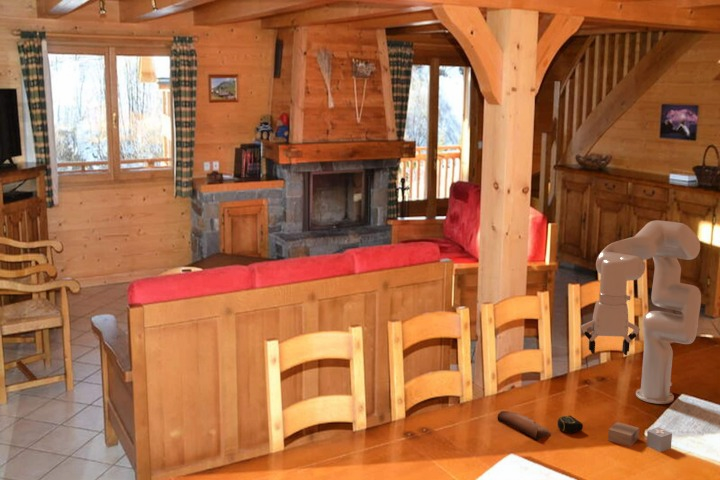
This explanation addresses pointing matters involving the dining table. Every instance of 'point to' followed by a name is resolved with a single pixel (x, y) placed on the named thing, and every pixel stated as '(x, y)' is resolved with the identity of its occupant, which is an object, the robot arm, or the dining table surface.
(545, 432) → the sunglasses case
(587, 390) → the dining table surface
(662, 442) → the slate cube
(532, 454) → the dining table surface
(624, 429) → the brown block
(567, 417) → the tape measure
